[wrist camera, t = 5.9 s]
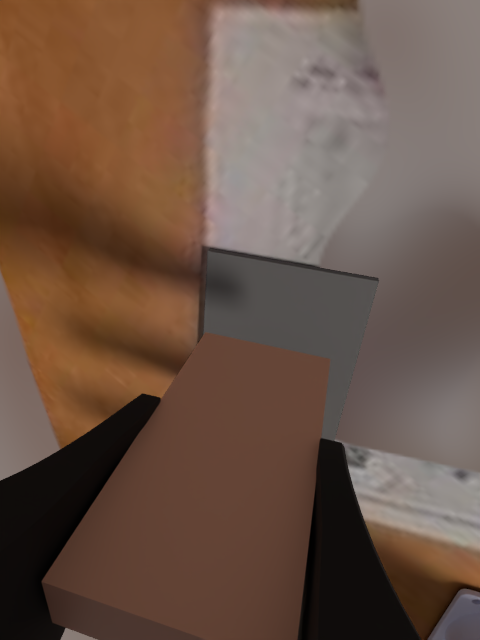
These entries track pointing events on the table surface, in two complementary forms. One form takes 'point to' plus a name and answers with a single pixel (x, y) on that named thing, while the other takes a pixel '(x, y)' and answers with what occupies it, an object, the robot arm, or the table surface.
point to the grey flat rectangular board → (292, 313)
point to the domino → (204, 507)
